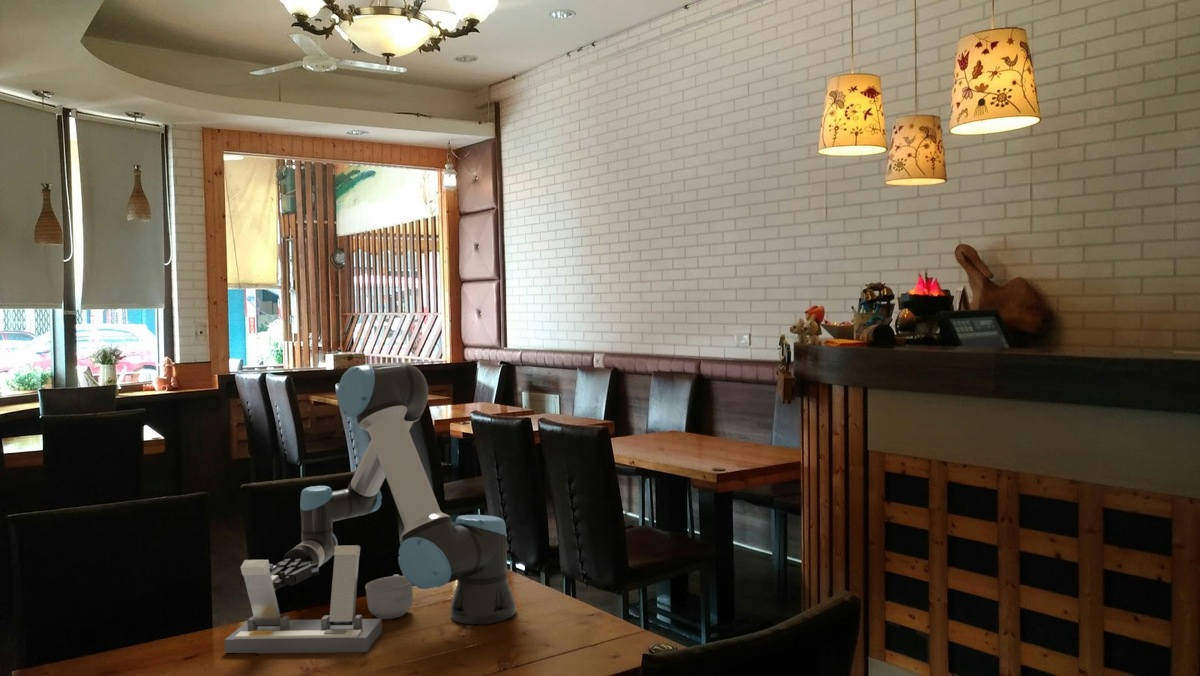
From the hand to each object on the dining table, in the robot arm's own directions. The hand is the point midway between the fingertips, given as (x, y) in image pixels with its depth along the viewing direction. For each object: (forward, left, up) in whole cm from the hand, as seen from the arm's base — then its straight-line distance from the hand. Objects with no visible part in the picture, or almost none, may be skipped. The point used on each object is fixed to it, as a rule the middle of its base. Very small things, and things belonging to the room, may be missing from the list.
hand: (263, 590), depth 191 cm
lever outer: (0, -1, -7) cm, 8 cm away
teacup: (-22, -20, -12) cm, 33 cm away
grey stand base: (-8, -1, -12) cm, 15 cm away
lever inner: (-16, -1, -7) cm, 18 cm away
